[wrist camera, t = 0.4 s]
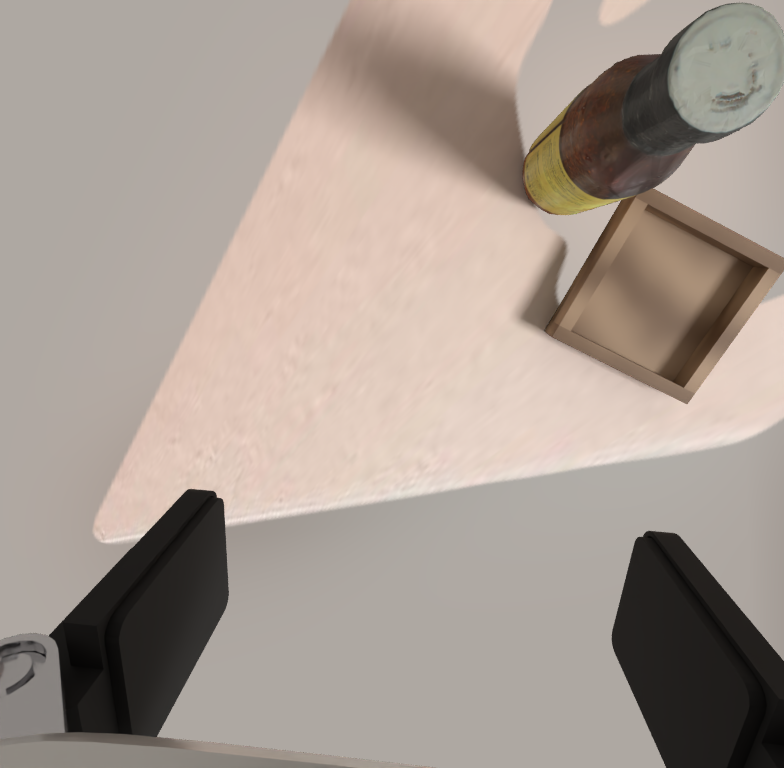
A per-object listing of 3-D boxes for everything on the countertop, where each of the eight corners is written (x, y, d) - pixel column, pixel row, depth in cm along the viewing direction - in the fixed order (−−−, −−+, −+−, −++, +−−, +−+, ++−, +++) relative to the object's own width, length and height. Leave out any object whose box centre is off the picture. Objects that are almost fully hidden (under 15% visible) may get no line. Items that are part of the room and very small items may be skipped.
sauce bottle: (581, 228, 36) (753, 213, 17) (505, 199, 36) (595, 152, 17) (622, 138, 34) (867, 11, 15) (542, 107, 34) (690, -61, 15)
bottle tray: (628, 187, 35) (643, 183, 33) (765, 260, 36) (790, 261, 34) (544, 331, 39) (552, 337, 36) (671, 394, 40) (687, 404, 37)
